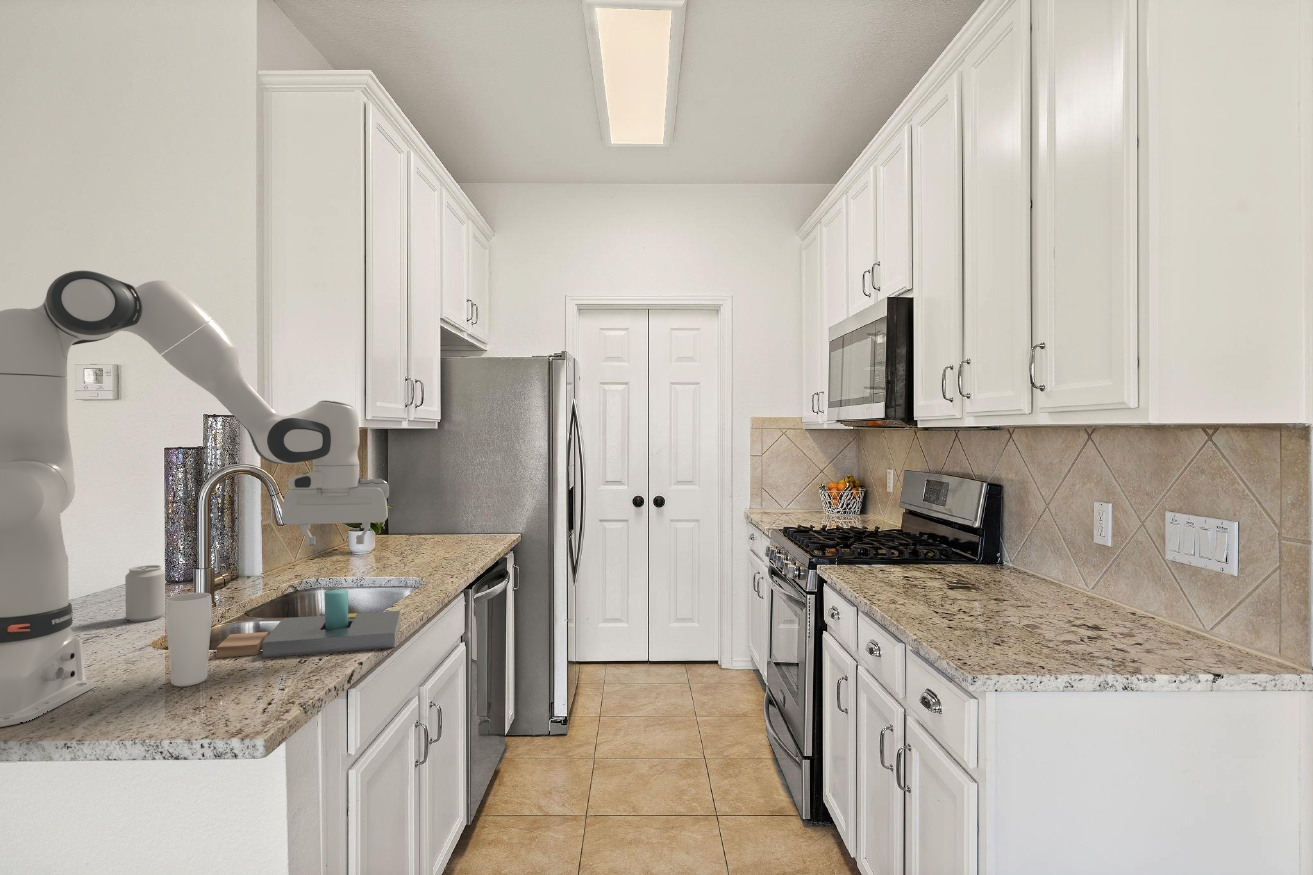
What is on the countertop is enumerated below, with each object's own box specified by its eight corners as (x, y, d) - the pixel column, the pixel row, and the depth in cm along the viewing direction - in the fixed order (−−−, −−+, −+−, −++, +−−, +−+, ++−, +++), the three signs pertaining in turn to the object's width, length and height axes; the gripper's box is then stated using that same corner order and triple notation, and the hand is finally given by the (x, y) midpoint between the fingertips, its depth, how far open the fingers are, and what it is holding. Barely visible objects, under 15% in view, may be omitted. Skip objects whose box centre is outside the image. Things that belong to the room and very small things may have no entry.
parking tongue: (257, 654, 139) (257, 644, 139) (216, 657, 137) (216, 647, 137) (268, 641, 148) (268, 631, 148) (230, 644, 146) (230, 634, 146)
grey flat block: (394, 647, 144) (394, 631, 144) (262, 657, 137) (262, 640, 137) (400, 623, 161) (400, 609, 161) (283, 632, 155) (283, 616, 155)
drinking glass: (159, 691, 120) (158, 602, 120) (174, 677, 127) (173, 593, 126) (205, 687, 122) (204, 599, 122) (217, 673, 129) (217, 591, 128)
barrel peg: (346, 641, 148) (346, 593, 148) (323, 643, 147) (323, 595, 147) (349, 635, 152) (349, 589, 152) (327, 637, 151) (326, 590, 151)
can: (144, 623, 161) (144, 570, 161) (117, 621, 163) (116, 569, 162) (173, 615, 168) (173, 564, 168) (146, 613, 170) (146, 563, 170)
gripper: (390, 477, 155) (390, 540, 155) (286, 478, 149) (286, 544, 149) (388, 479, 149) (387, 545, 149) (279, 480, 143) (279, 548, 143)
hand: (336, 544), depth 149 cm, fingers open, 8 cm apart
